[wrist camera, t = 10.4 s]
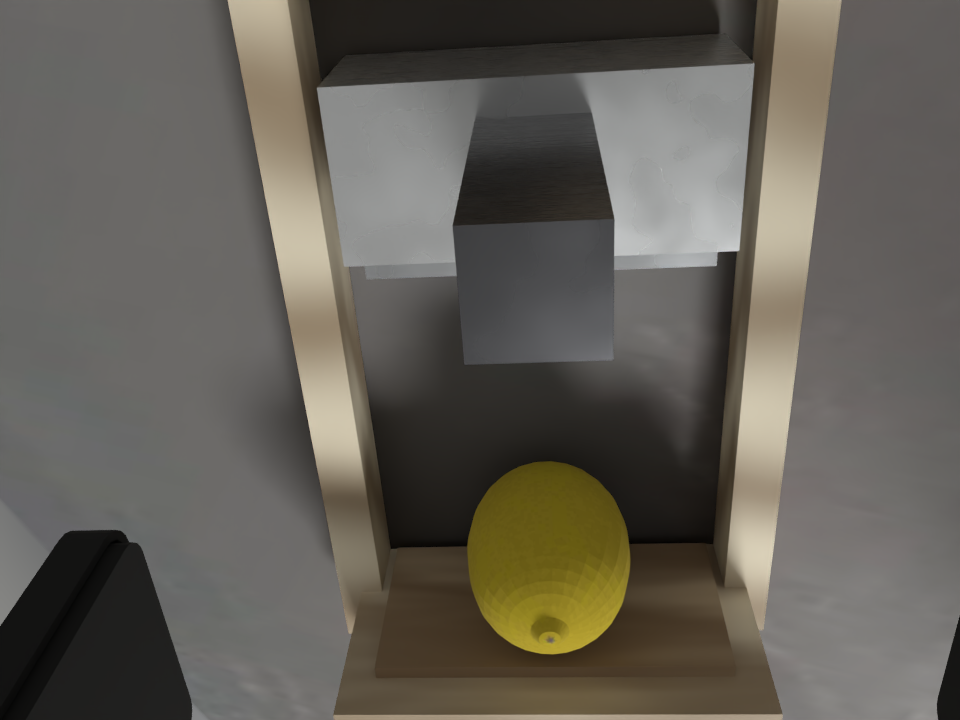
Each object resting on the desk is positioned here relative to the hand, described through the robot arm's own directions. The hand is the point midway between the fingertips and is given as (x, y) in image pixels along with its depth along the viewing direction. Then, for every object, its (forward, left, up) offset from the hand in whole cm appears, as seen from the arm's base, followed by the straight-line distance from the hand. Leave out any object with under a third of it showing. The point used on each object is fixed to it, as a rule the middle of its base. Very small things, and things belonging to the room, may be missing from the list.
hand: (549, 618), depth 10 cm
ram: (0, 0, -20) cm, 20 cm away
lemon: (-13, 0, -20) cm, 24 cm away
